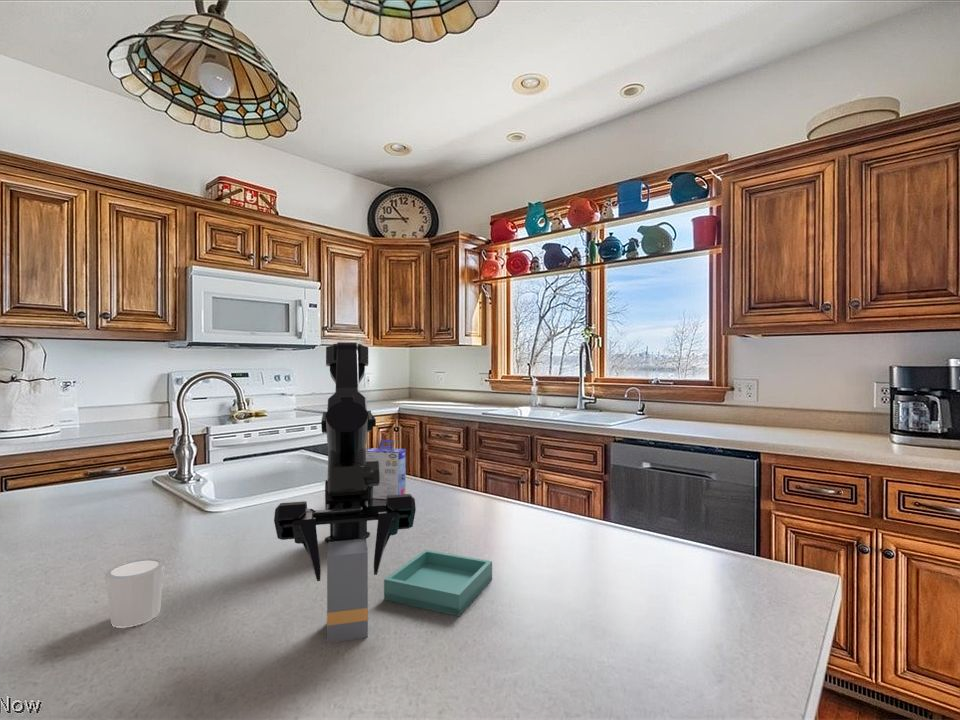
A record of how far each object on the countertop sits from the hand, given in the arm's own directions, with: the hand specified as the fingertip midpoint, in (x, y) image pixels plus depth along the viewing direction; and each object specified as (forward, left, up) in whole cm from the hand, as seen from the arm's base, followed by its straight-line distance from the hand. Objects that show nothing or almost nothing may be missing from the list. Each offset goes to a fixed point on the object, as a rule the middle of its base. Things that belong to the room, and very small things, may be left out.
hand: (347, 576), depth 65 cm
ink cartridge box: (-32, +56, -8) cm, 65 cm away
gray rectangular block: (-1, +1, -8) cm, 8 cm away
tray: (+5, +16, -8) cm, 19 cm away
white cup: (-30, -8, -8) cm, 32 cm away
